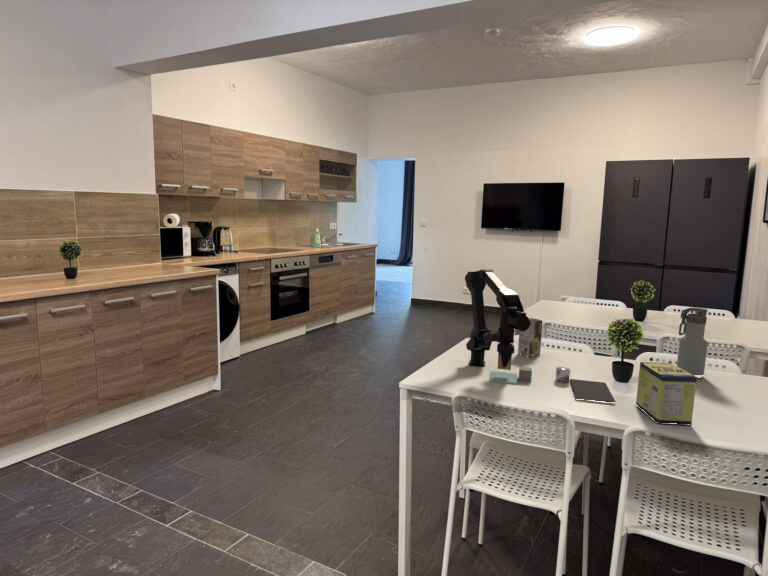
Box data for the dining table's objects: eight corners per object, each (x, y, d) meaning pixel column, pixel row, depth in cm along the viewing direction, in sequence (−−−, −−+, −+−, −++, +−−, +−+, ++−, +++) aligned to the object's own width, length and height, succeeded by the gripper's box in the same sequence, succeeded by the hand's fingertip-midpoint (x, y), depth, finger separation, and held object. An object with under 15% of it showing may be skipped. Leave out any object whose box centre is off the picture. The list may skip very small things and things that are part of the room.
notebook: (569, 382, 194) (575, 401, 173) (569, 378, 193) (576, 397, 173) (605, 386, 190) (615, 406, 170) (605, 382, 190) (615, 402, 170)
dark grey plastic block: (518, 377, 196) (519, 366, 196) (530, 378, 195) (531, 367, 195) (518, 381, 192) (519, 369, 192) (531, 382, 191) (531, 371, 190)
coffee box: (528, 351, 236) (531, 317, 234) (540, 354, 231) (543, 320, 229) (516, 354, 230) (519, 319, 228) (529, 357, 225) (531, 322, 223)
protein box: (666, 407, 169) (671, 362, 167) (692, 426, 154) (698, 377, 152) (634, 405, 170) (639, 361, 168) (657, 424, 154) (663, 375, 152)
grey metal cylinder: (554, 378, 196) (555, 366, 196) (568, 380, 195) (569, 367, 195) (555, 382, 192) (557, 369, 191) (569, 384, 190) (570, 371, 190)
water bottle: (671, 374, 207) (678, 307, 203) (679, 370, 213) (687, 305, 209) (698, 380, 199) (707, 311, 196) (706, 376, 206) (715, 309, 202)
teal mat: (490, 372, 202) (490, 370, 202) (516, 374, 199) (516, 373, 199) (489, 381, 190) (489, 380, 190) (517, 384, 188) (517, 382, 188)
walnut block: (497, 365, 197) (498, 350, 196) (510, 366, 196) (511, 351, 195) (497, 368, 192) (498, 353, 191) (510, 370, 191) (511, 354, 190)
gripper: (486, 319, 203) (484, 356, 205) (484, 328, 185) (481, 369, 187) (515, 321, 200) (512, 359, 202) (515, 331, 182) (512, 373, 184)
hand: (504, 365), depth 194 cm, fingers closed on walnut block, 5 cm apart
